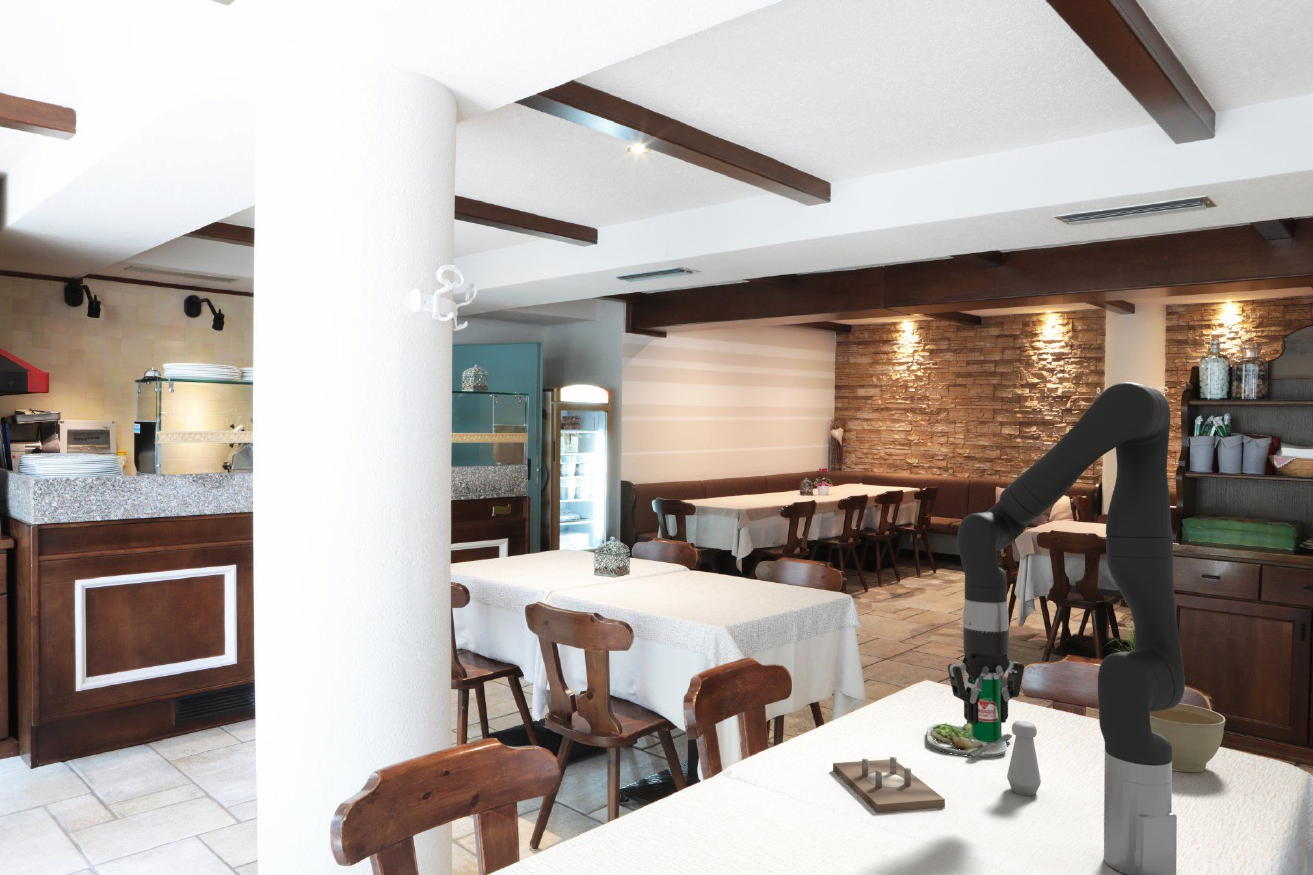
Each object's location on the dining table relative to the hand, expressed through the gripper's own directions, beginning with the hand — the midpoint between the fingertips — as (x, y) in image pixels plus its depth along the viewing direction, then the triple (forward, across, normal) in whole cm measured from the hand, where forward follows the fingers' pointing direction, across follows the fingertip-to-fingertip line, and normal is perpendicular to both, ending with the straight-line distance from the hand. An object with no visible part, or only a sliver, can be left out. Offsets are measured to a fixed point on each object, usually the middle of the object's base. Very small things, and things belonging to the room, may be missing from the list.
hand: (986, 721), depth 154 cm
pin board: (+16, -12, +15) cm, 25 cm away
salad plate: (+16, +17, +34) cm, 42 cm away
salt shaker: (+16, +13, +8) cm, 23 cm away
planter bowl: (+16, +53, +15) cm, 58 cm away
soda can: (+3, 0, 0) cm, 3 cm away
